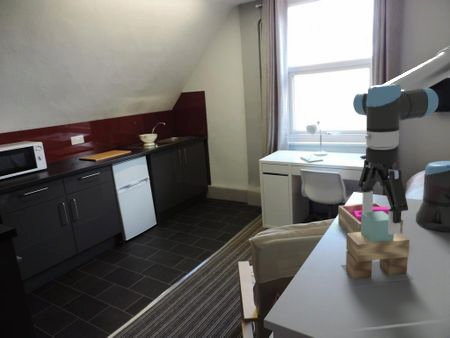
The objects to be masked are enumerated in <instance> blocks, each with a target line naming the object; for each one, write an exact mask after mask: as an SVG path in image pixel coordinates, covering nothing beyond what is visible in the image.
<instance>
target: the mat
mask: <svg viewBox="0 0 450 338" xmlns="http://www.w3.org/2000/svg"><path fill="white" fill-rule="evenodd" d="M340 266H341V268H342V269H343V270H344V271H345V272H346V274H347V275H348V277H349V278H350V279H351V281H352V282H353V283H354V285H355V286H359V285H360V286H361V285H362V286H363V285H370V284H378V283H379V284H380V283H387V282H389V283H390V282H396V281H397V282H398V281H408V280H414V279H415V278H414V277H412V275H410V273H408V272H407V274H401V275H391V276H389V275H388V274H387V273H386V272H385V271H384V270H383V269H382V268H381V267H380V260H379V261H378V260H377V261H376V260H375V261H372V277H371V278H363V279H353V278H352V277H351V275H350V274H349V273H348V271H347V270H346V264H341V265H340Z"/></svg>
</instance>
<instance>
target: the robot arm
mask: <svg viewBox="0 0 450 338" xmlns="http://www.w3.org/2000/svg"><path fill="white" fill-rule="evenodd" d="M445 79H450V45H448V46H446V47H444V48H443V49H442V48H441V50H439V51H438V52H436V54H435V55H434V57H432V58H430V59H427V60H426V61H425V62H423V63H420V64H418V66H416V67H413V68H411V69H410V70H408V71H406V72H404V73H402V74H401V75H397V76H396V77H395V78H393V79H391V80H389V81H387V82H385V83H383V84H377V85H376V84H375V85H371V86H370V87H369V88H368V89H365V90H361V91H359V92H357V93H356V95H355V96H354V98H353V102H352V104H353V105H352V106H353V110H354V111H355V113H357V114H358V115H361V116H366V129H365V130H366V133H365V134H366V135H365V141H366V149H365V159H364V161H363V168H362V171H361V175H360V178H359V182H358V188H360V190H361V191H362V203H361V204H362V213H366V212H373V203H374V202H373V201H374V192H373V190H374V186H375V185H376V183H379V184H380V186H381V187H382V188H383V190H384V194H385V196H386V198H387V201H388V204H389V207H390V208H389V219H388V234H390V235H391V234H399V233H400V223H401V219H402V212H405V211H409V206H408V205H409V204H408V202H407V201H408V200H407V197H406V193H405V189H404V184H403V180H402V170H401V169H396V170H395V169H394V164H395V163H397V162H398V160H399V148H398V145H400V143H399V142H400V124H401V123H400V122H401V121H406V120H412V119H422V118H425V117H428V116H430V115H432V114H434V112H436V110H437V109H438V106H439V95H438V94H437V93H436V91H435V90H434V89H432V88H430V87H432V86H434V85H436V84H438V83H440V82H441V81H443V80H445ZM423 179H424V181H423V191H422V193H423V194H422V202H421V203H420V206H419V208H418V211H417V212H416V214H415V222H416V223H417V224H418V225H419V226H421V227H423V228H425V229H429V230H433V231H437V232H446V233H447V232H448V233H450V160H441V161H433V162H429V163H427V164H426V167H425V170H424V177H423Z"/></svg>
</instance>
